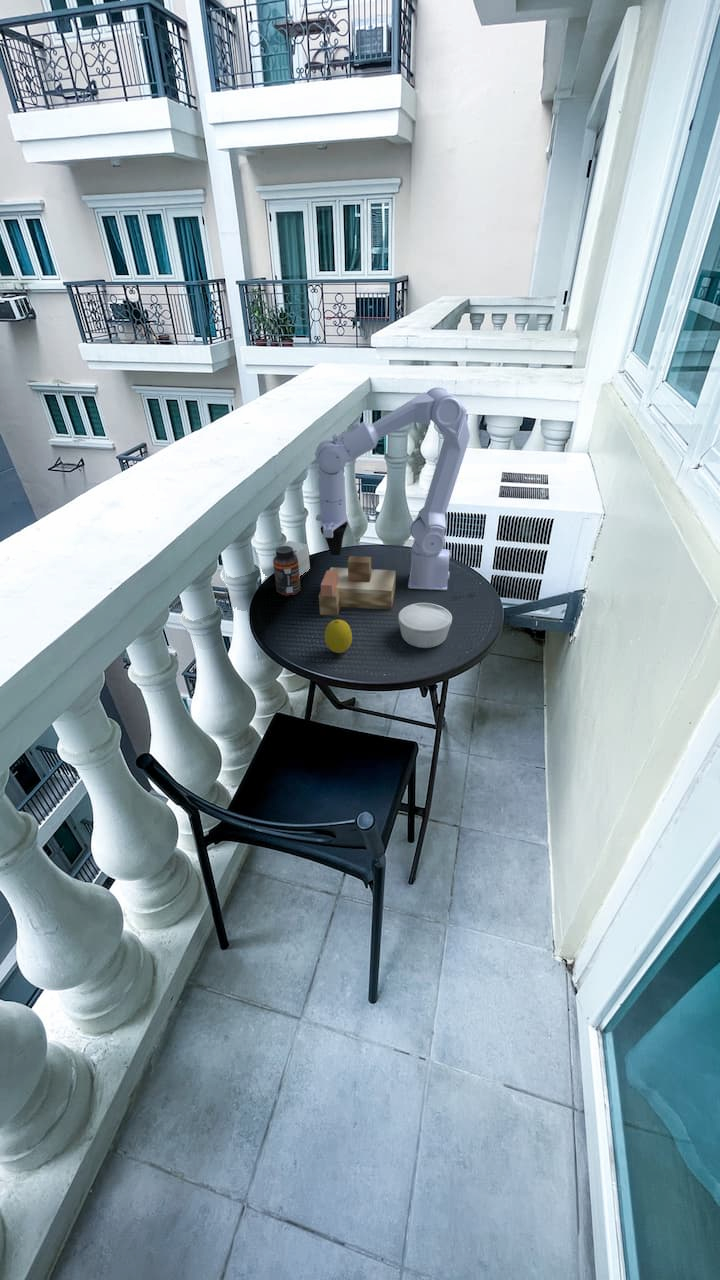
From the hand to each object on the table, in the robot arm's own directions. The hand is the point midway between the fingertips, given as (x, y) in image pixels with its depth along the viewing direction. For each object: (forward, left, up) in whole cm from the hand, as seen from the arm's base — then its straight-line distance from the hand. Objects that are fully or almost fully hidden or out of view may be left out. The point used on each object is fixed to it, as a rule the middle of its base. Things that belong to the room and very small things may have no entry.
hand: (335, 553), depth 128 cm
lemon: (-5, +26, -10) cm, 28 cm away
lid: (-6, +3, -6) cm, 9 cm away
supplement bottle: (+12, +2, -10) cm, 16 cm away
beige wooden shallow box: (-6, +4, -10) cm, 12 cm away
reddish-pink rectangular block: (0, +8, -5) cm, 10 cm away
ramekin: (-22, +18, -10) cm, 30 cm away
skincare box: (+13, -8, -10) cm, 19 cm away
